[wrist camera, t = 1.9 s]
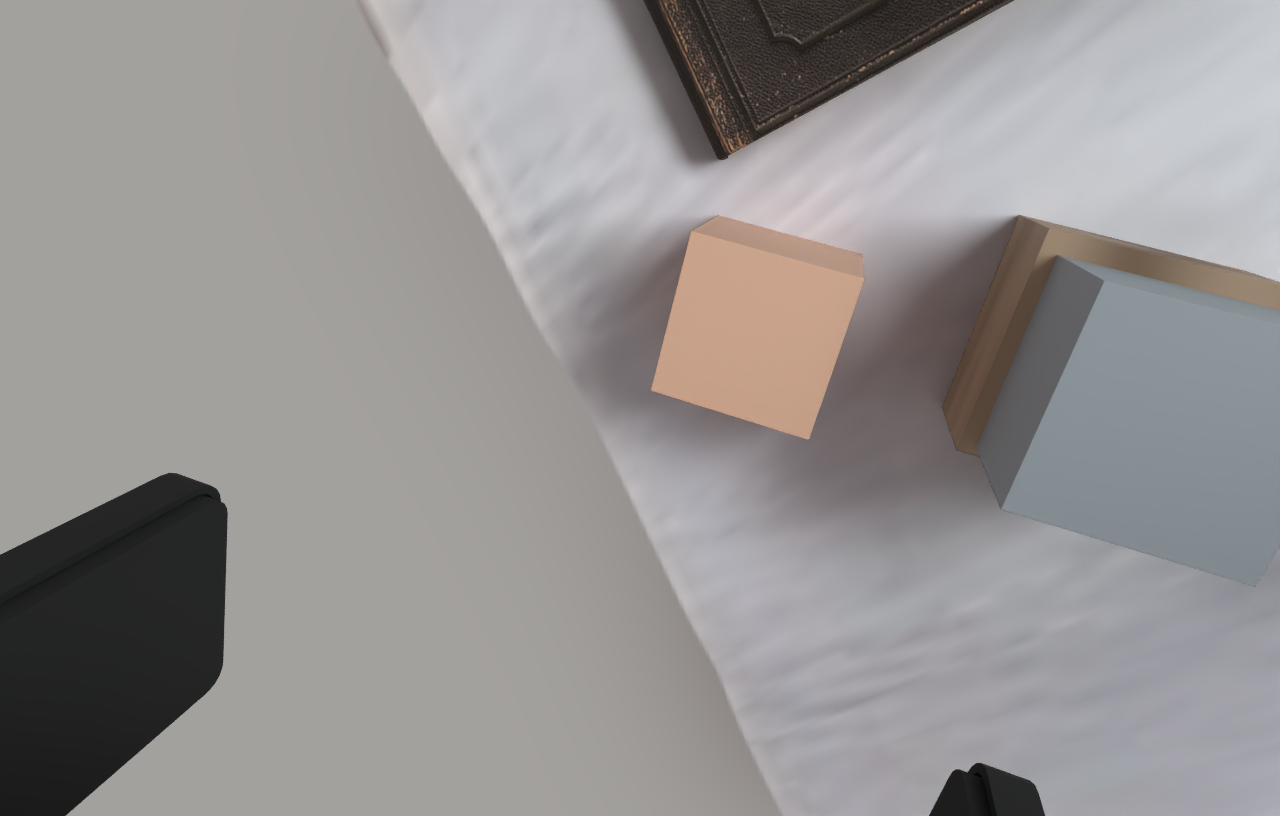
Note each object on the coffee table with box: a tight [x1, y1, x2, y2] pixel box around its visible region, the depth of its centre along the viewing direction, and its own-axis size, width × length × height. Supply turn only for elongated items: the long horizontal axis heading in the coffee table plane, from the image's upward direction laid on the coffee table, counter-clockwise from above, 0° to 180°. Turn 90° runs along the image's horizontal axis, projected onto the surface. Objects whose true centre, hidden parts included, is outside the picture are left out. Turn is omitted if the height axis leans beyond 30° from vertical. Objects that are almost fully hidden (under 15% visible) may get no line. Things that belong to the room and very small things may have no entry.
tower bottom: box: [942, 215, 1280, 457], centre depth 28 cm, size 8×8×5 cm
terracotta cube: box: [651, 215, 865, 440], centre depth 30 cm, size 6×6×6 cm
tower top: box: [976, 255, 1280, 586], centre depth 23 cm, size 7×7×5 cm
